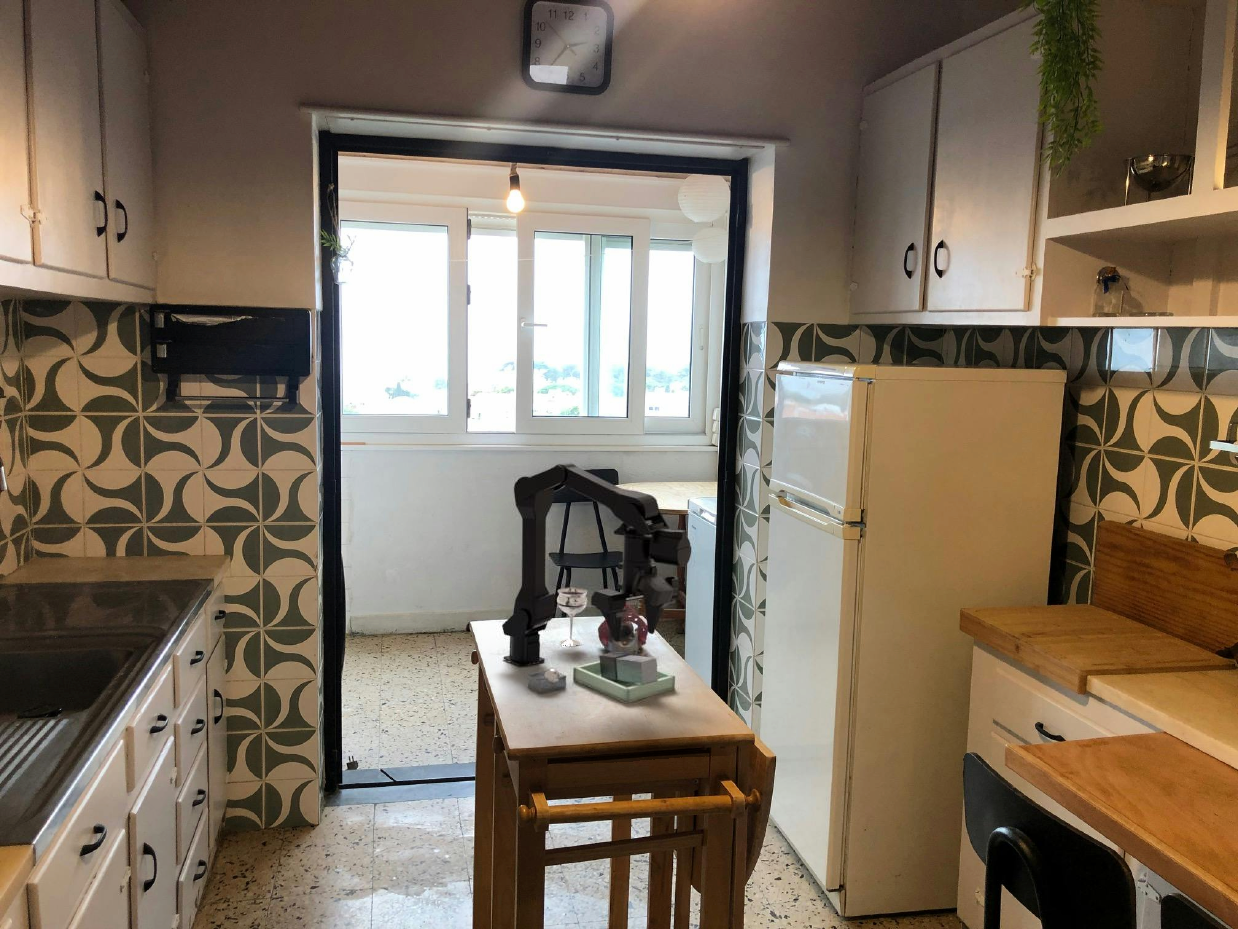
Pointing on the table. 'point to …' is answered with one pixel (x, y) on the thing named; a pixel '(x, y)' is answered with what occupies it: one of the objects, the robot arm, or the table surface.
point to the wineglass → (571, 607)
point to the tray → (622, 683)
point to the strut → (628, 667)
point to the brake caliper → (625, 634)
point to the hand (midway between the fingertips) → (634, 637)
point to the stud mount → (546, 681)
